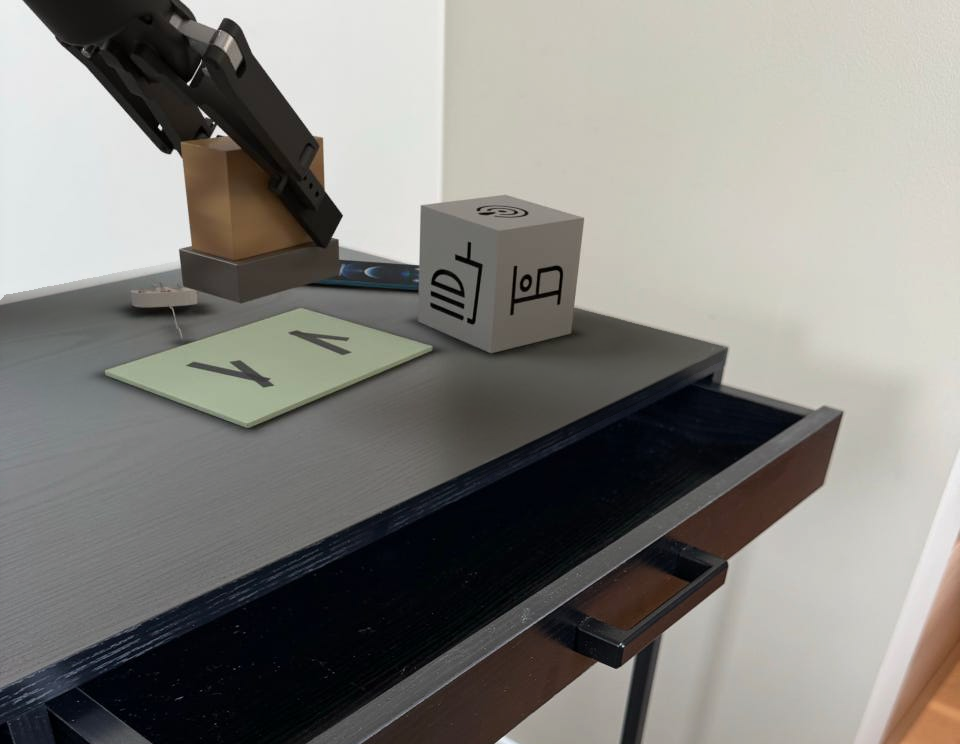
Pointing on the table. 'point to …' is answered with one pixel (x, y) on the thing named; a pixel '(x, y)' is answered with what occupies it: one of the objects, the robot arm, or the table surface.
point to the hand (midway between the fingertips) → (297, 222)
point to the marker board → (269, 365)
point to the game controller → (164, 298)
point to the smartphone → (375, 275)
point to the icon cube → (498, 271)
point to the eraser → (245, 227)
